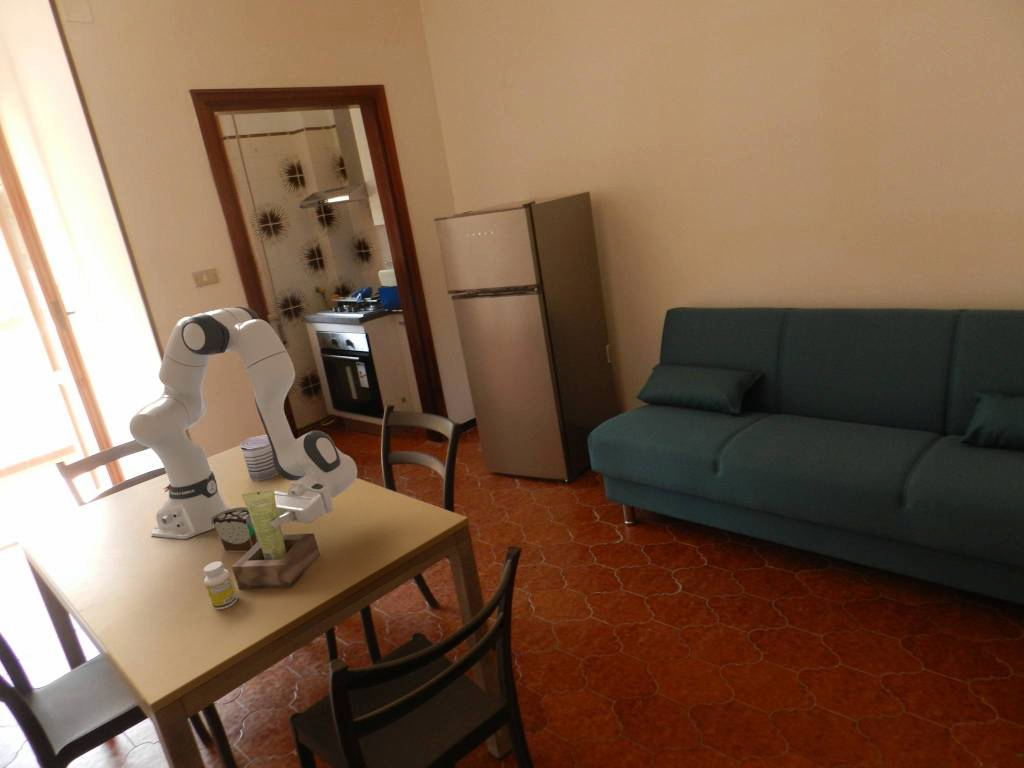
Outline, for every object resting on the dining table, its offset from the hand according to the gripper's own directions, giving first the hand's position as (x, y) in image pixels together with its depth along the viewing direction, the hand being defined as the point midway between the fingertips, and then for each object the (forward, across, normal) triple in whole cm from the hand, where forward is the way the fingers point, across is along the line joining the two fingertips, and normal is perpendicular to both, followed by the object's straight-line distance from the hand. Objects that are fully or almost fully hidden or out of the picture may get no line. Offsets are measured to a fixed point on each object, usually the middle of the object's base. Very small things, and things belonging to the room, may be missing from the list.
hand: (262, 522), depth 165 cm
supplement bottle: (+13, -3, +14) cm, 19 cm away
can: (-45, -58, +14) cm, 74 cm away
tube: (-1, 0, +12) cm, 12 cm away
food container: (-8, -21, +14) cm, 26 cm away
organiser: (-1, 0, +14) cm, 14 cm away
